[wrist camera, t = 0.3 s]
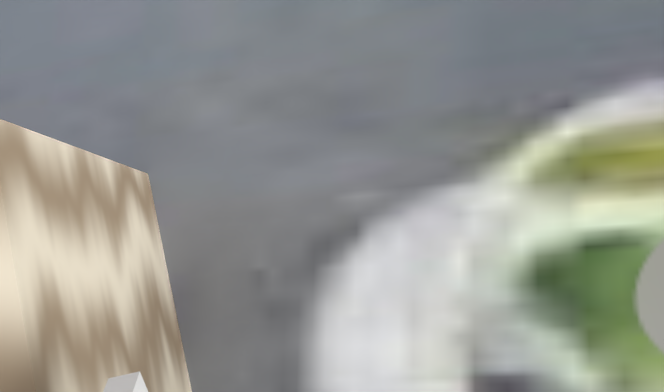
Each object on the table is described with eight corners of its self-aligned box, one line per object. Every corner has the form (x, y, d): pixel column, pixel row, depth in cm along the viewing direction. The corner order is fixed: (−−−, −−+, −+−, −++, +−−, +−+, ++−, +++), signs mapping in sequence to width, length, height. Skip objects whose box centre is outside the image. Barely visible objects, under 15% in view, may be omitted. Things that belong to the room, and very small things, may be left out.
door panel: (211, 487, 31) (84, 677, 17) (150, 501, 31) (-26, 701, 17) (148, 173, 33) (-11, 114, 19) (91, 188, 33) (-108, 139, 19)
